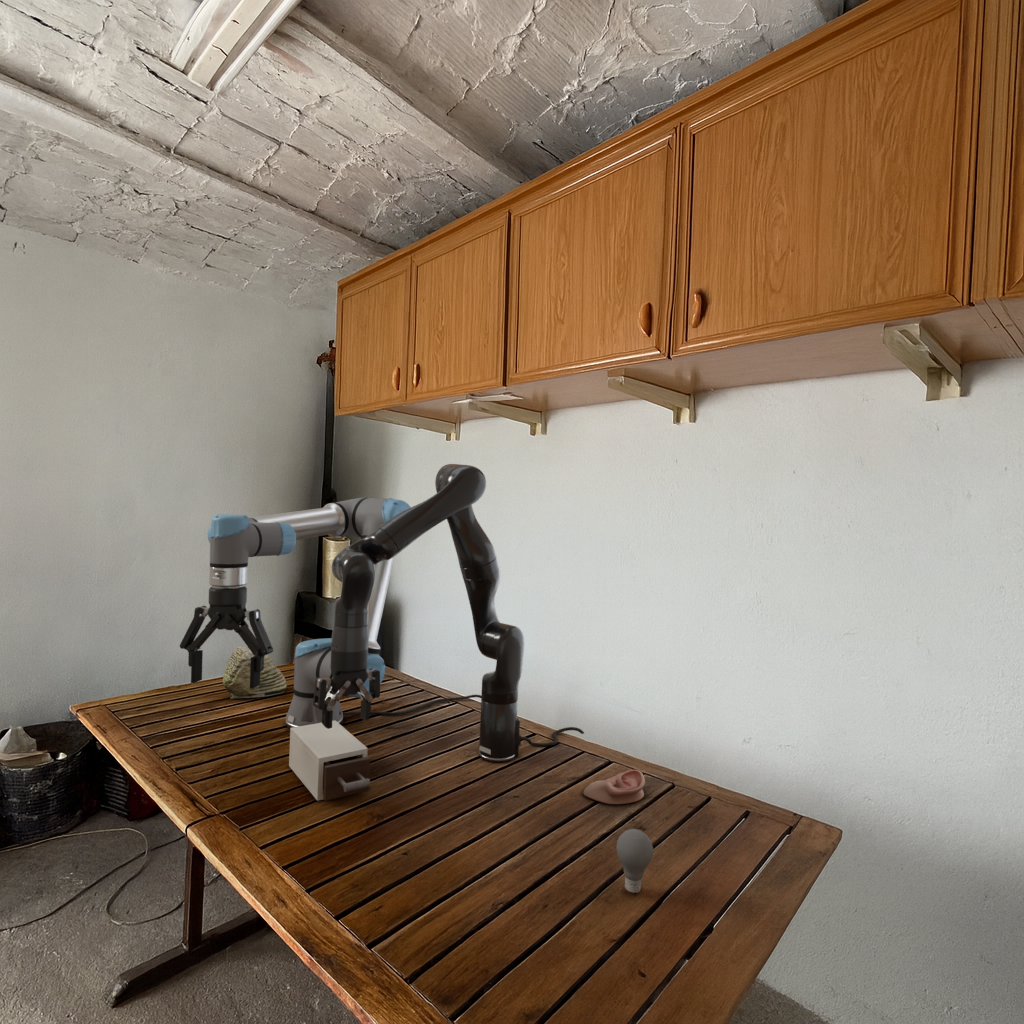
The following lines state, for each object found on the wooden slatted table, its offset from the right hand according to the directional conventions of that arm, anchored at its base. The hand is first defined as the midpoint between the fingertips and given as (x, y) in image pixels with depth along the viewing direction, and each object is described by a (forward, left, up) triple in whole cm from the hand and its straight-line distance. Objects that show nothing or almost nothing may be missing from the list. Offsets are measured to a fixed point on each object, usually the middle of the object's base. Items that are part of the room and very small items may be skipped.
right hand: (346, 723), depth 133 cm
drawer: (+1, -6, -15) cm, 16 cm away
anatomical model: (-57, +16, -16) cm, 61 cm away
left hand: (+24, -15, +6) cm, 29 cm away
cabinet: (+2, -12, -16) cm, 20 cm away
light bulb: (-40, +47, -16) cm, 64 cm away
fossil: (+16, -78, -16) cm, 81 cm away
